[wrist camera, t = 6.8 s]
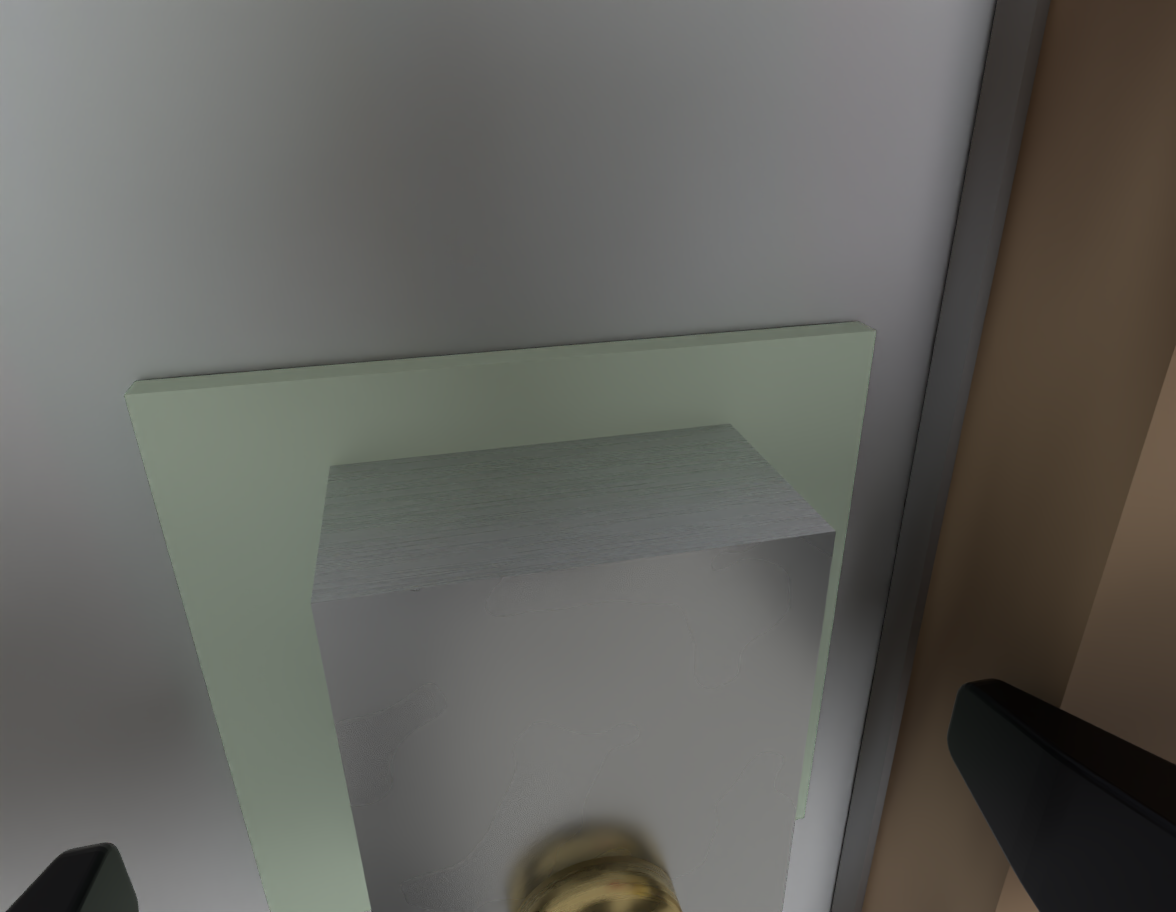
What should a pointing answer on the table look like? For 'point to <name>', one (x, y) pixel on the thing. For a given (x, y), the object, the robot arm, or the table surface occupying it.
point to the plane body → (1035, 447)
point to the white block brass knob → (573, 672)
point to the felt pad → (411, 429)
